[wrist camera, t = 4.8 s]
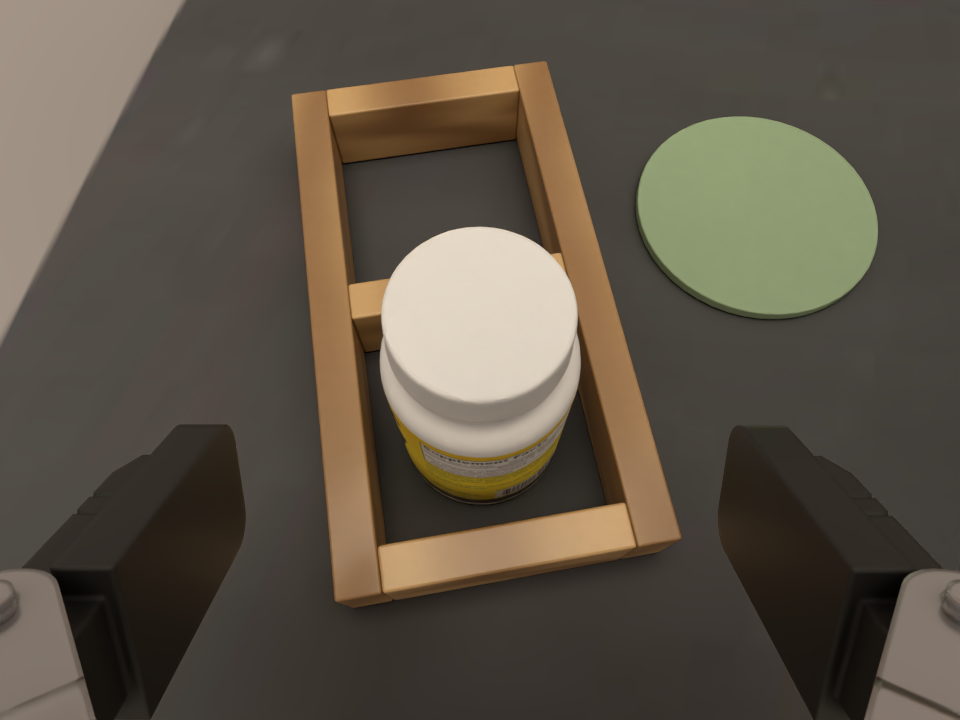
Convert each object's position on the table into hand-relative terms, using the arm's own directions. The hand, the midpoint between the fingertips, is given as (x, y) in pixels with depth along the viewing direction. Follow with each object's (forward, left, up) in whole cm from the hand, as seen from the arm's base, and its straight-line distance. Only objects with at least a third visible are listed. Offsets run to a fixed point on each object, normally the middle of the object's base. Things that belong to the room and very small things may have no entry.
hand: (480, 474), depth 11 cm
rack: (-1, -8, -10) cm, 12 cm away
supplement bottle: (-1, -4, -10) cm, 10 cm away
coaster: (-12, -10, -10) cm, 18 cm away
